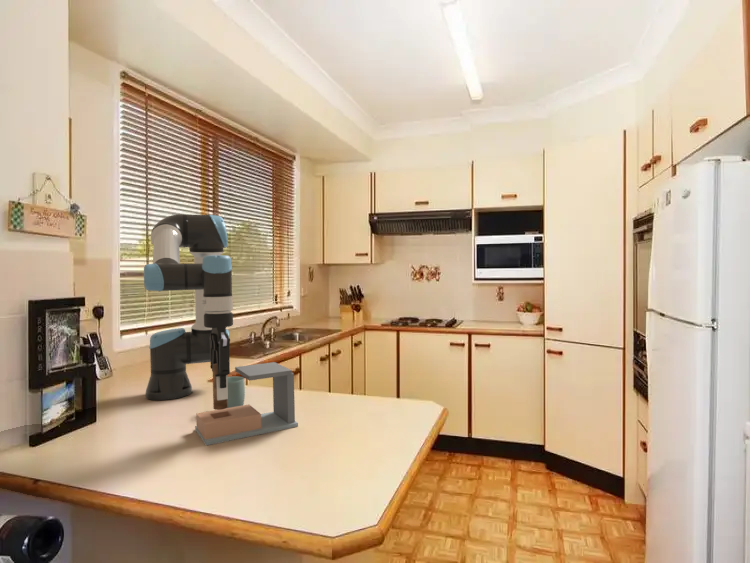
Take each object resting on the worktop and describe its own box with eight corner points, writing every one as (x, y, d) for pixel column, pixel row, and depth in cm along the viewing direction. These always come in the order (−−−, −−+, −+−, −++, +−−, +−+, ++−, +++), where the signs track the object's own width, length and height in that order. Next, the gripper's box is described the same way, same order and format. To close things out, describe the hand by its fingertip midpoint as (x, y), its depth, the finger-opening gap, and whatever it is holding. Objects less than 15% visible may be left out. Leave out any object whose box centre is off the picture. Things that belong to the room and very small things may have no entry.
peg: (225, 405, 129) (224, 362, 129) (228, 408, 126) (227, 364, 126) (212, 407, 127) (211, 363, 127) (215, 410, 124) (214, 365, 124)
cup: (237, 414, 143) (236, 382, 142) (214, 413, 144) (213, 381, 144) (249, 407, 150) (248, 376, 150) (227, 406, 152) (226, 375, 152)
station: (195, 429, 130) (193, 372, 130) (280, 413, 143) (279, 361, 143) (206, 445, 118) (204, 382, 118) (297, 426, 131) (296, 369, 131)
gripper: (197, 310, 131) (199, 393, 132) (211, 315, 117) (213, 407, 118) (224, 309, 135) (226, 389, 136) (240, 313, 121) (243, 402, 122)
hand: (220, 397), depth 127 cm, fingers closed on peg, 3 cm apart
